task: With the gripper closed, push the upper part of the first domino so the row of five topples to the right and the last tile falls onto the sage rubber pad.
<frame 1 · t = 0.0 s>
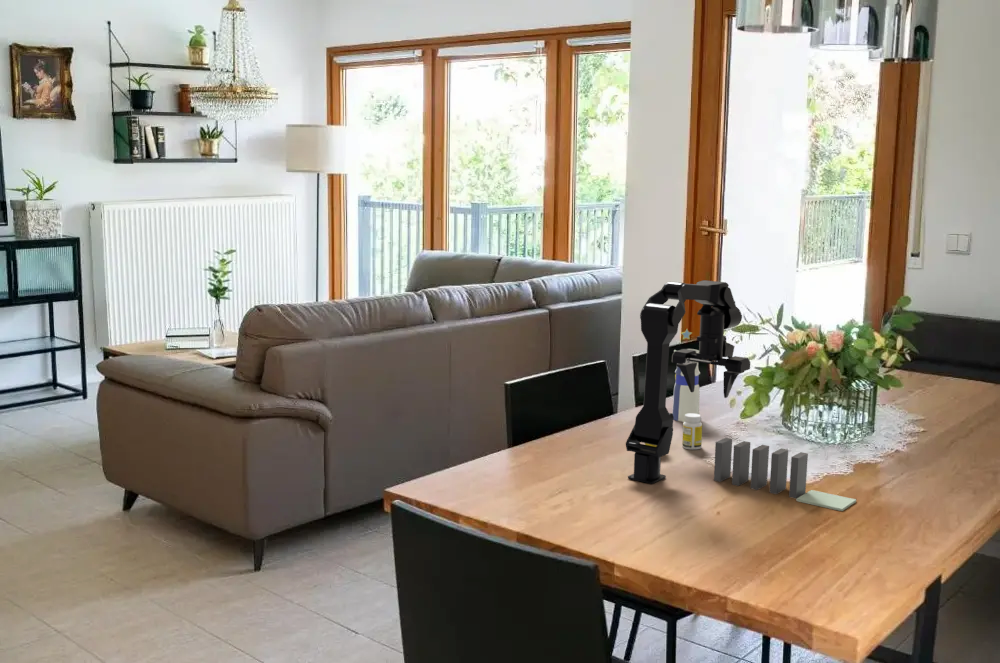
hand: (708, 394, 256), 15 cm above the table, fingers open, 9 cm apart
domino 1: (722, 478, 238), on the table
pad: (826, 501, 223), on the table
supplement bottle: (691, 448, 263), on the table
lemon: (654, 452, 259), on the table
domino 4: (777, 490, 229), on the table
domino 3: (758, 486, 232), on the table
domino 5: (797, 495, 227), on the table
water bottle: (684, 419, 292), on the table
domino 2: (740, 482, 235), on the table
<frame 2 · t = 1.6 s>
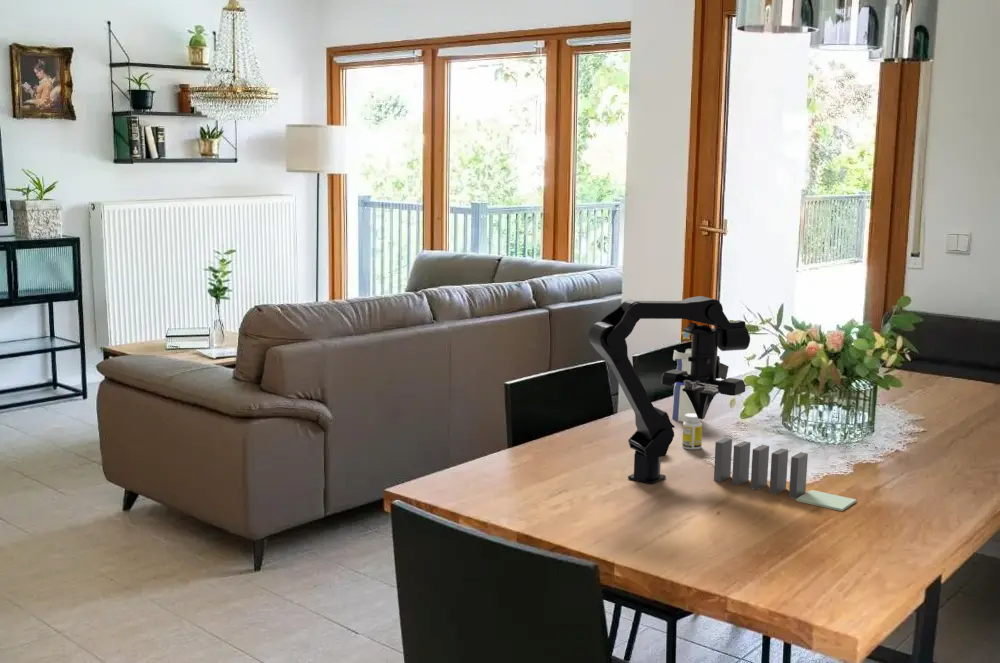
hand: (701, 418, 239), 13 cm above the table, fingers closed
nothing on the table moved.
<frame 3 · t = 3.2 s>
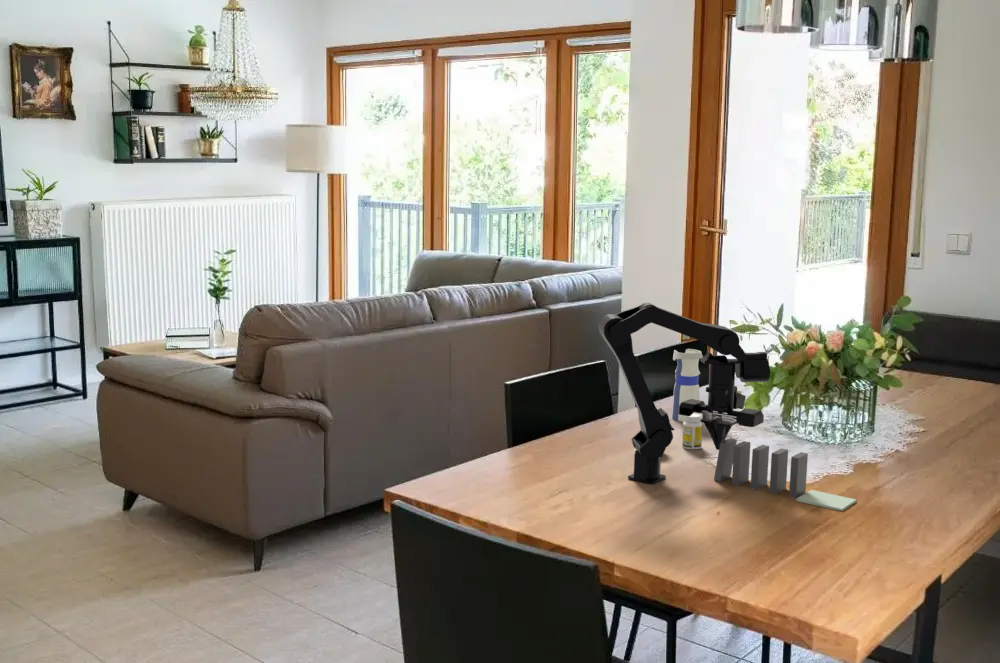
hand: (718, 449, 238), 7 cm above the table, fingers closed
domino 1: (722, 478, 238), on the table, tilted 7°, touching gripper
everything else where it was.
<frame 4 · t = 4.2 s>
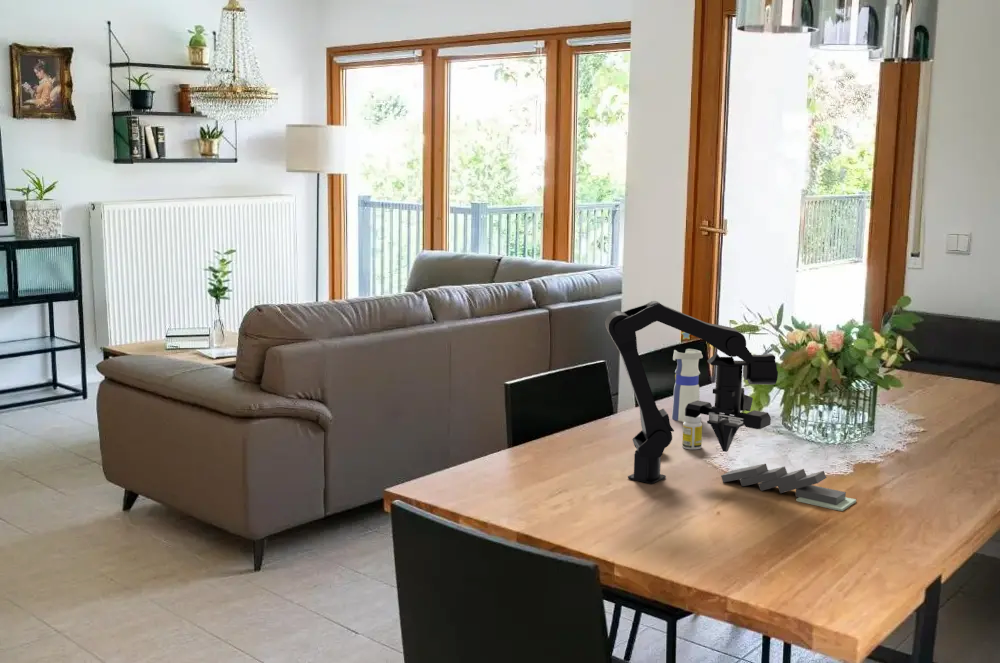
hand: (725, 451, 236), 6 cm above the table, fingers closed
domino 1: (727, 476, 237), point 1 cm above the table, tilted 68°, touching domino 2
domino 4: (783, 487, 228), point 1 cm above the table, tilted 64°, touching domino 3, domino 5
domino 3: (764, 484, 231), point 1 cm above the table, tilted 64°, touching domino 2, domino 4
domino 5: (800, 489, 226), point 1 cm above the table, tilted 90°, touching domino 4, pad
domino 2: (745, 480, 234), point 1 cm above the table, tilted 67°, touching domino 1, domino 3
everything else where it was.
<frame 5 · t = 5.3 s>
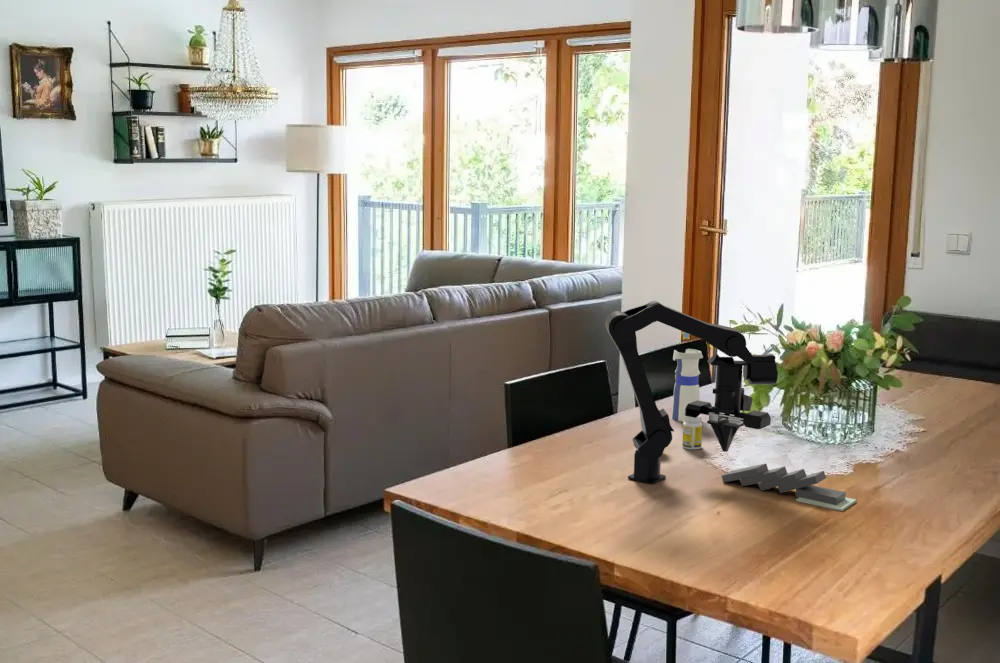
hand: (725, 451, 236), 6 cm above the table, fingers closed
nothing on the table moved.
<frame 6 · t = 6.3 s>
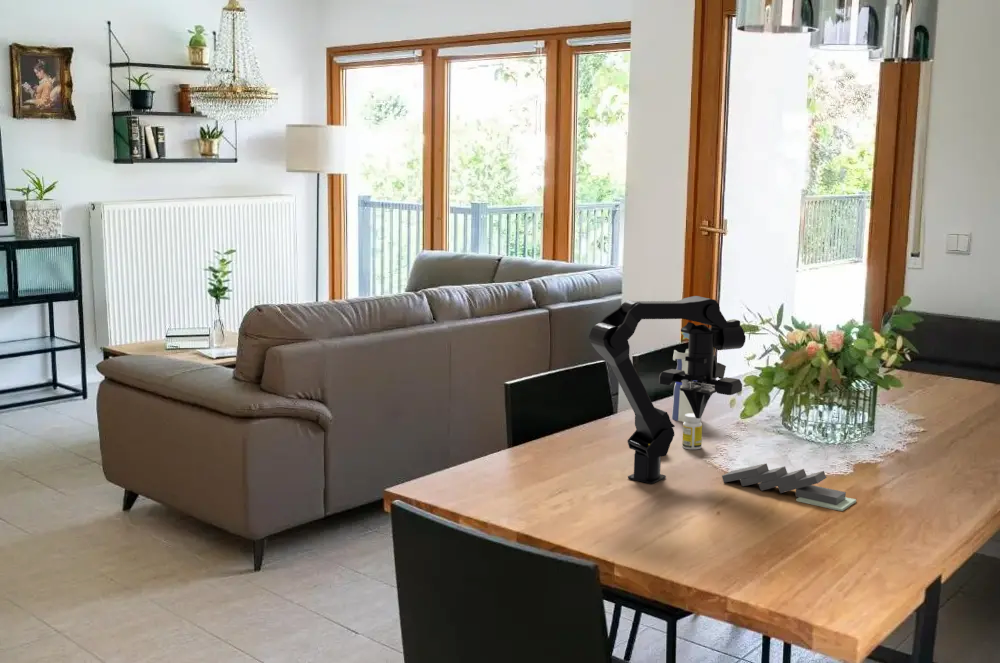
hand: (698, 418, 240), 13 cm above the table, fingers closed
nothing on the table moved.
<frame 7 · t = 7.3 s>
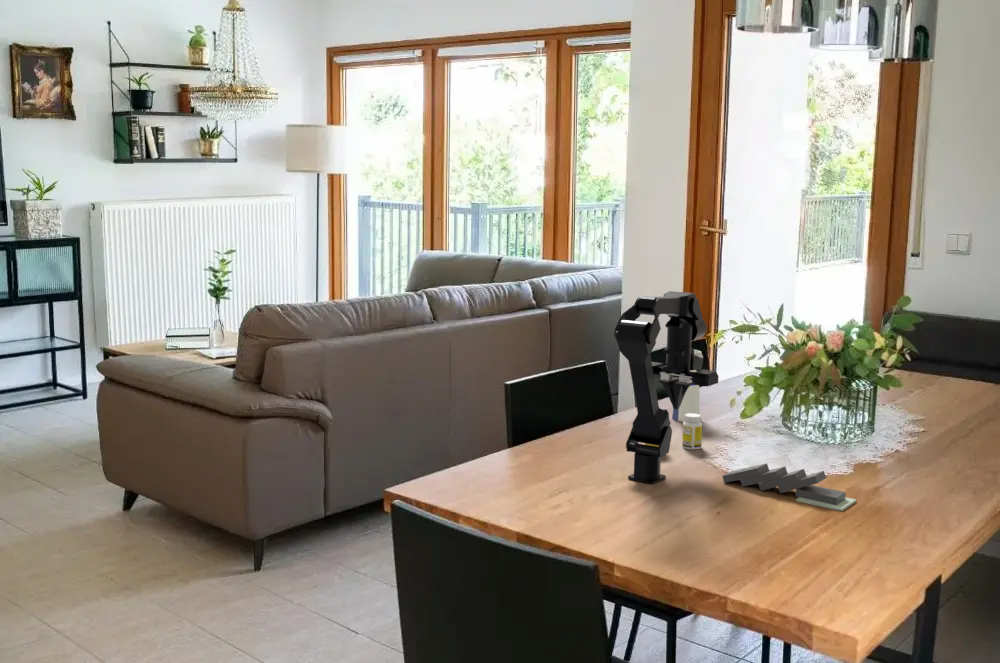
hand: (676, 409, 248), 13 cm above the table, fingers closed
nothing on the table moved.
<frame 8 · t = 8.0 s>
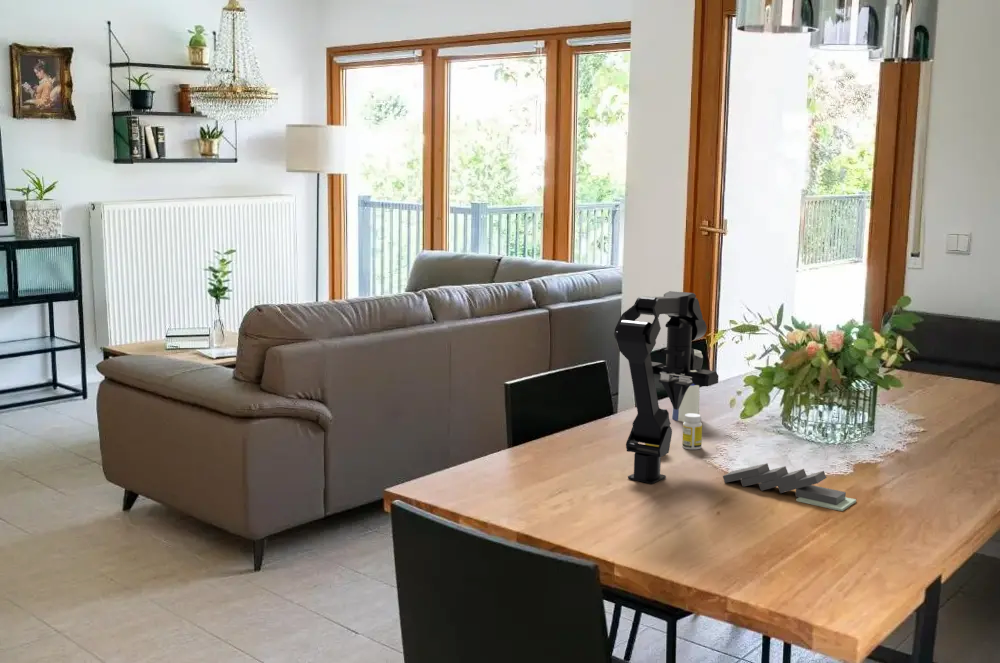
hand: (676, 409, 248), 13 cm above the table, fingers closed
nothing on the table moved.
at the end: domino 5 tilted 90°; domino 1 tilted 67°; domino 5 5.8 cm from the pad (horizontally) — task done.
